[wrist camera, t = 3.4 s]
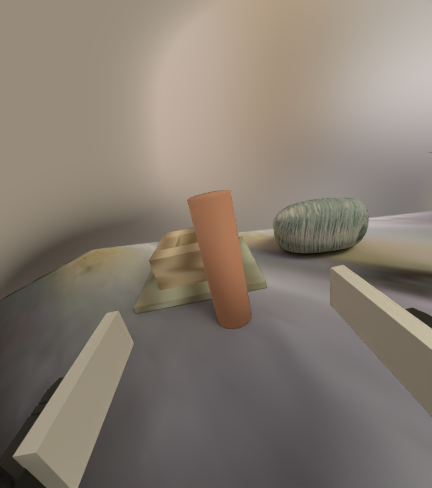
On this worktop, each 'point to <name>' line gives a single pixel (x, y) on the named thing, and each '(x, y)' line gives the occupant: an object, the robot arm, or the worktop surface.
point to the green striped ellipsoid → (321, 225)
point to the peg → (221, 256)
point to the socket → (186, 273)
